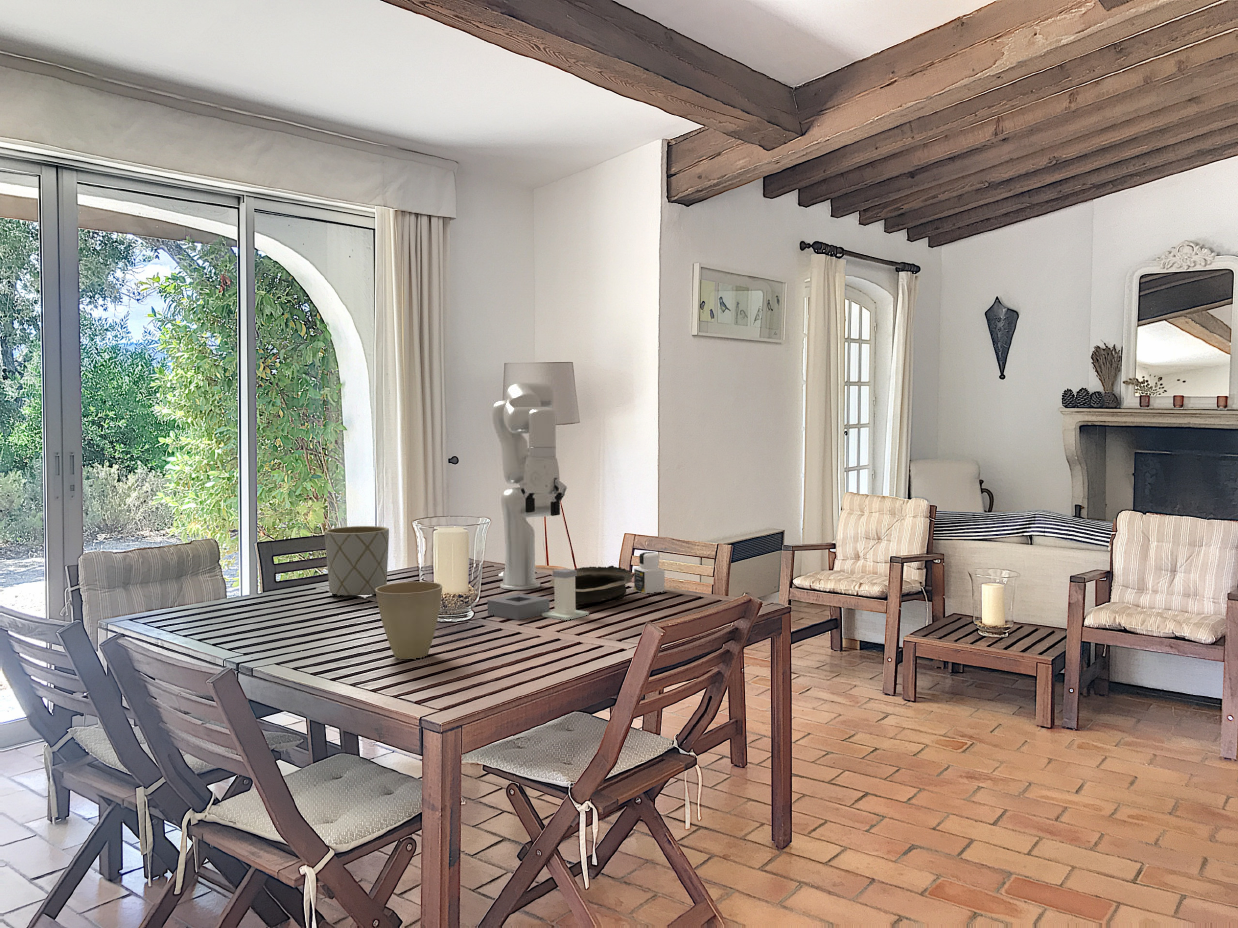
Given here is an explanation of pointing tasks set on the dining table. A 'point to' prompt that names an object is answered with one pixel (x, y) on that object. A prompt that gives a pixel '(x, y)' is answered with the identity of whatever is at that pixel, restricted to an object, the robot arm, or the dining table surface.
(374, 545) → the planter
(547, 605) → the grey square ring
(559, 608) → the plug
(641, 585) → the medicine bottle
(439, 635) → the dining table surface
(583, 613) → the coaster
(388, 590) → the plant pot
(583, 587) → the stone bowl
